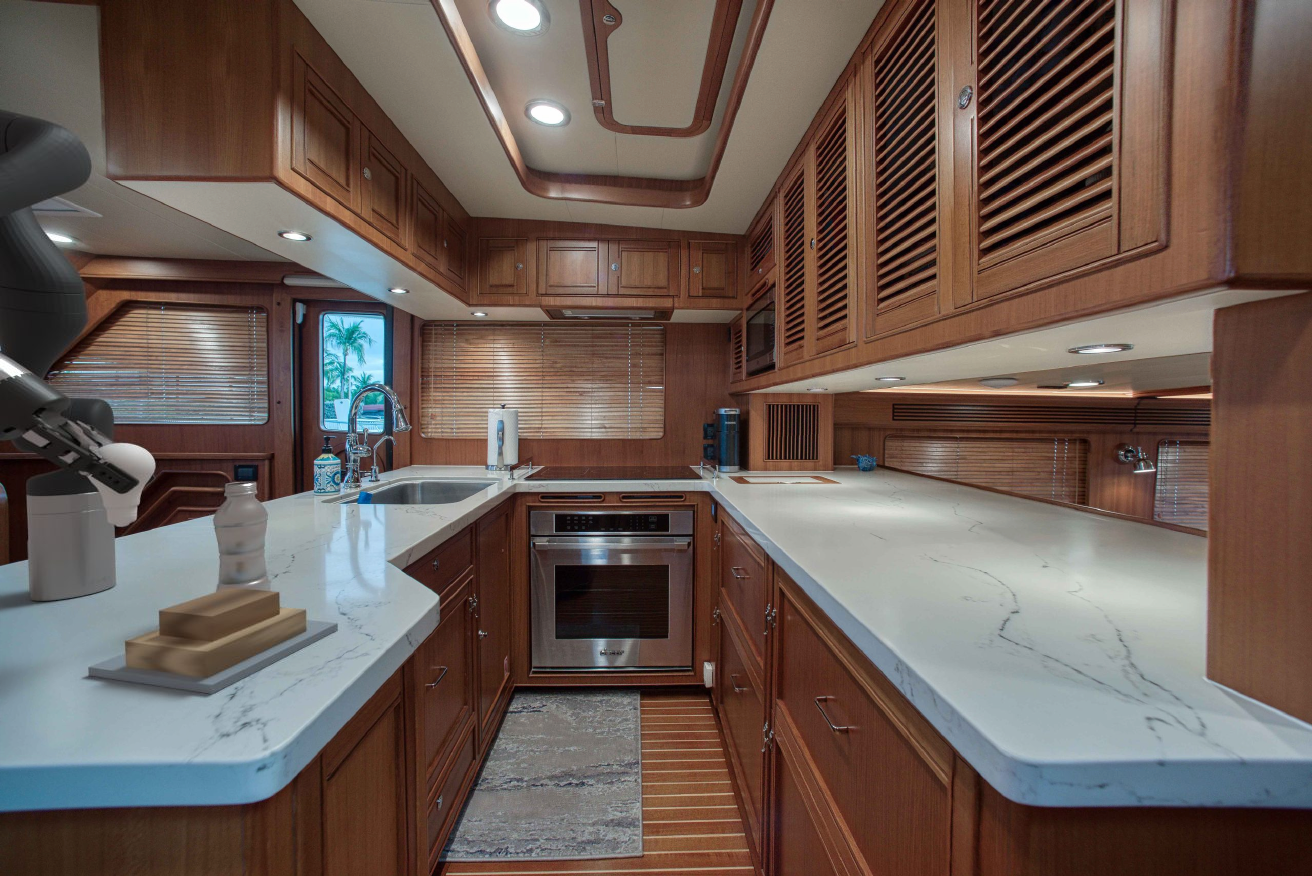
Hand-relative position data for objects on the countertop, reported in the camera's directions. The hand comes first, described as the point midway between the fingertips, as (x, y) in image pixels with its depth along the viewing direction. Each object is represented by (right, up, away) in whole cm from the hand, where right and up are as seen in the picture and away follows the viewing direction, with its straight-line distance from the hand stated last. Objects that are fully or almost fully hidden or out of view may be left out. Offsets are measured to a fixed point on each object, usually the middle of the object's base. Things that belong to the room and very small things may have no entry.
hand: (140, 485), depth 62 cm
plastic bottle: (+4, -21, +12) cm, 24 cm away
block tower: (+14, -21, -3) cm, 25 cm away
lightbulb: (-2, -5, -1) cm, 6 cm away
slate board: (+13, -21, -2) cm, 25 cm away
